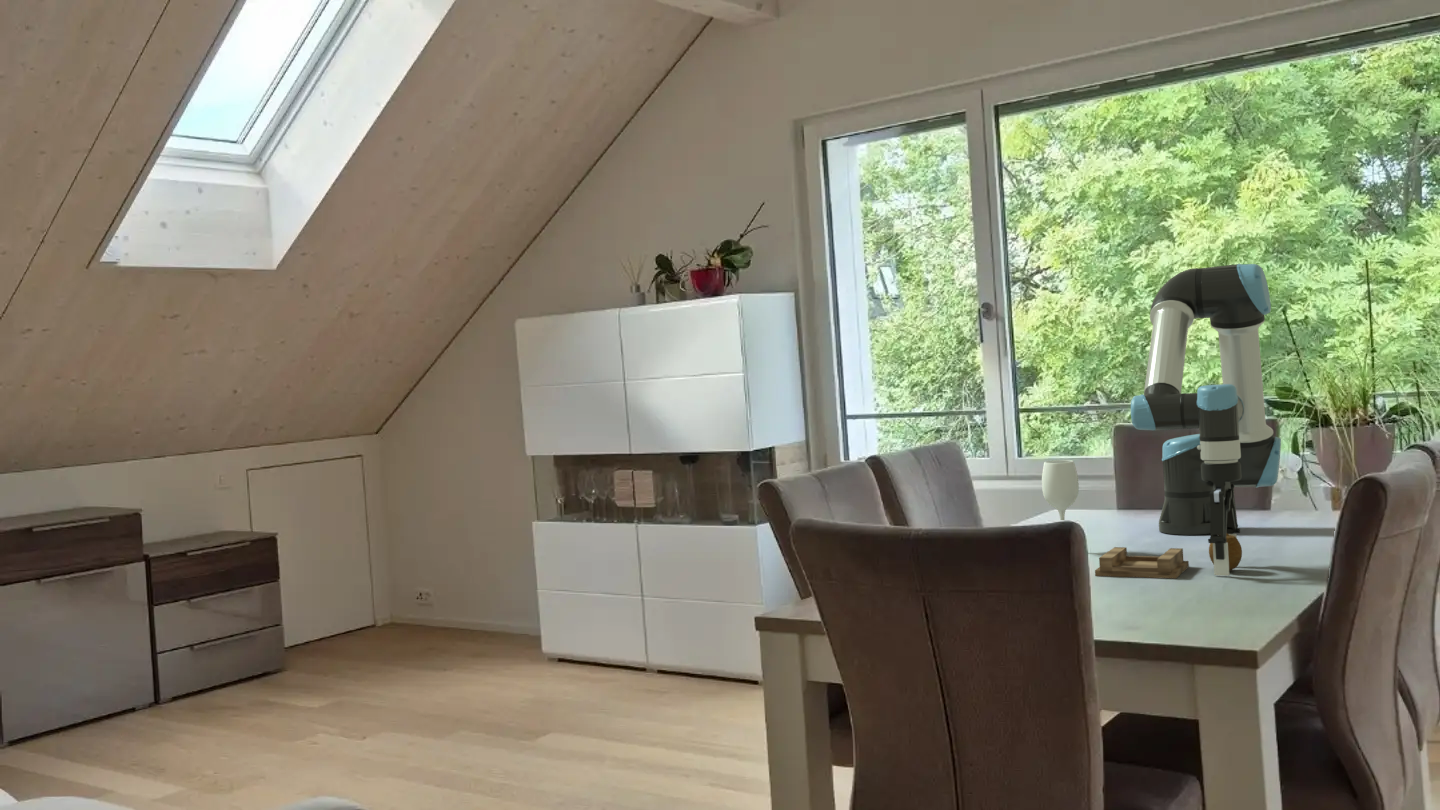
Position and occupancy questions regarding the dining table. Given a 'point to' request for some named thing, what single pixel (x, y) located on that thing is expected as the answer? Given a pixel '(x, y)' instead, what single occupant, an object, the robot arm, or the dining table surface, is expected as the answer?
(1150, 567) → the cradle
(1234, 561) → the fruit
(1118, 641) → the dining table surface
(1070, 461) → the wineglass
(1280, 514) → the dining table surface
